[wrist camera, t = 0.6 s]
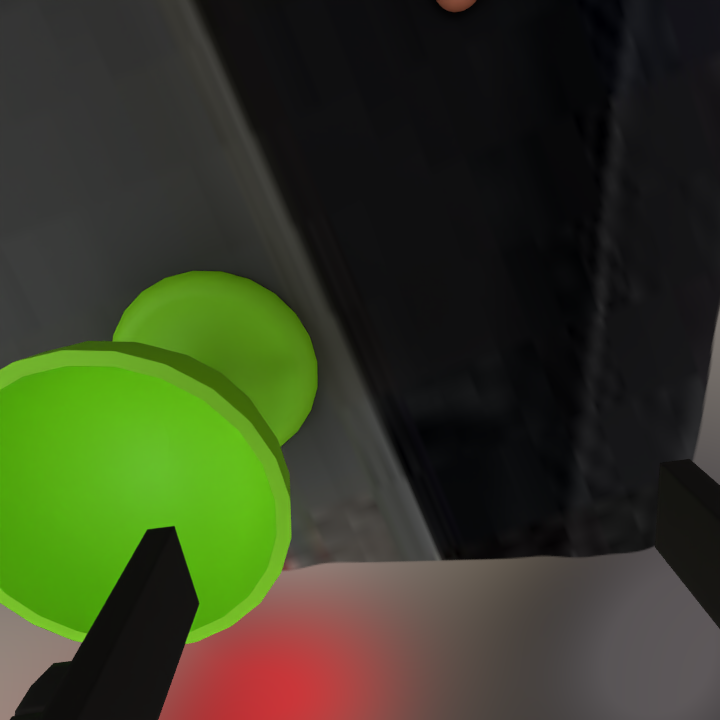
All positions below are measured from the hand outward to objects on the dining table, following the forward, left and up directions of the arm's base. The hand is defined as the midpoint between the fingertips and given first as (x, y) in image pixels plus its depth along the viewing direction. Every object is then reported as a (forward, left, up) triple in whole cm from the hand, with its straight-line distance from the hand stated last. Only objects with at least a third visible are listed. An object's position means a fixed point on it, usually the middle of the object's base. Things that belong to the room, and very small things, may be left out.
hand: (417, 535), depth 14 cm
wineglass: (+2, -13, -26) cm, 30 cm away
